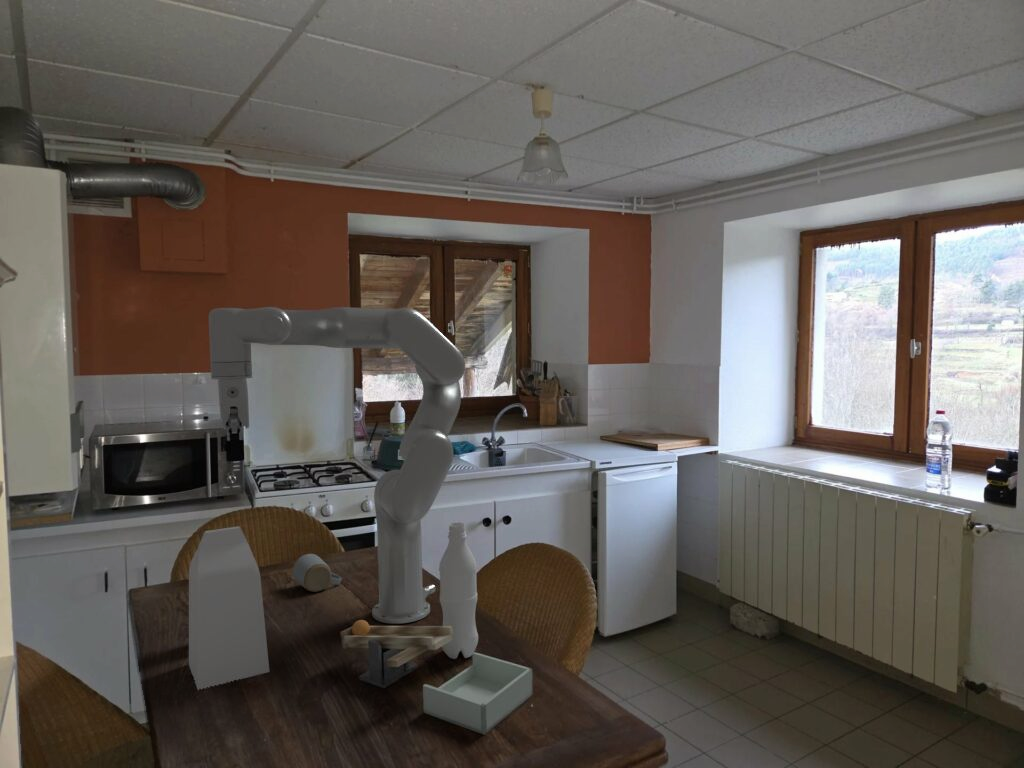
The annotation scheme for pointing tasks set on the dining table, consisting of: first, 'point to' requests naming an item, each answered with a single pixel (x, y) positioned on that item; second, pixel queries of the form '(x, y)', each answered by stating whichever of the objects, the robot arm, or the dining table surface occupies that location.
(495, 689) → the tray
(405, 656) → the lever
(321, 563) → the ceramic mug
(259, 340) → the robot arm
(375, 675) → the fulcrum
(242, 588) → the milk
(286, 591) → the dining table surface
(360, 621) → the ball
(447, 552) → the water bottle
